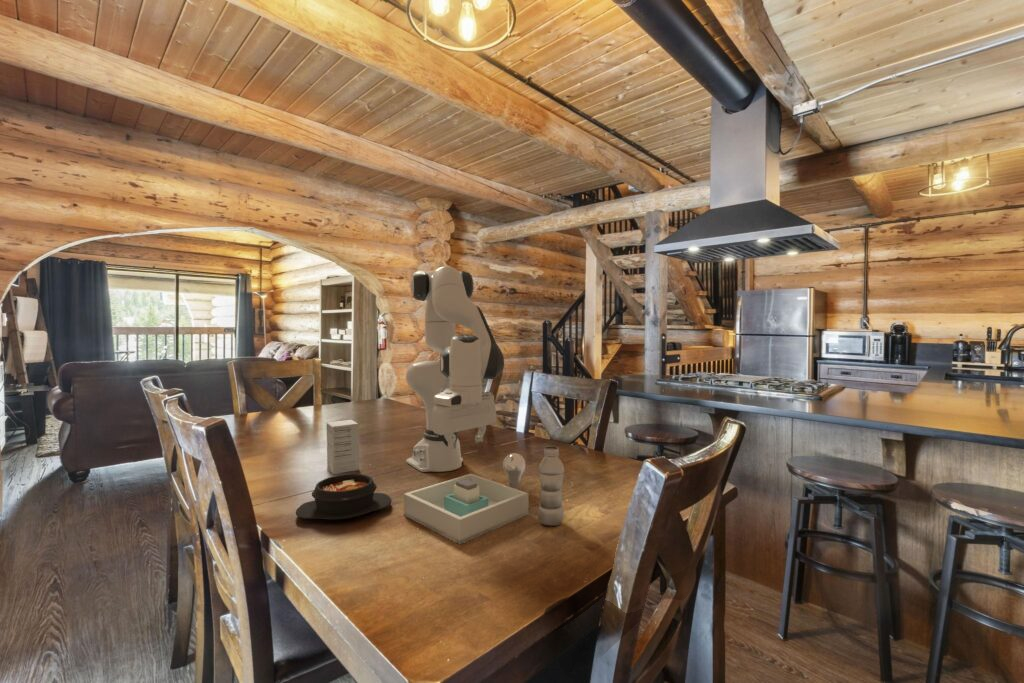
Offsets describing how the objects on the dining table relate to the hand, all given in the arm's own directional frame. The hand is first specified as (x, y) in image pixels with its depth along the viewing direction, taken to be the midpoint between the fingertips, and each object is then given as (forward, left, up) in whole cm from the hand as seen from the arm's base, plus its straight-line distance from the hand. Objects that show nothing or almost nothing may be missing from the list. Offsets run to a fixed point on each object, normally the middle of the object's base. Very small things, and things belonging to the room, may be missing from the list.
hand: (465, 445), depth 125 cm
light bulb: (-3, +22, -19) cm, 29 cm away
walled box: (0, 0, -19) cm, 19 cm away
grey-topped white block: (0, 0, -18) cm, 18 cm away
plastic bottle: (+20, +12, -19) cm, 30 cm away
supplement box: (-63, -5, -20) cm, 66 cm away
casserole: (-26, -22, -20) cm, 39 cm away
